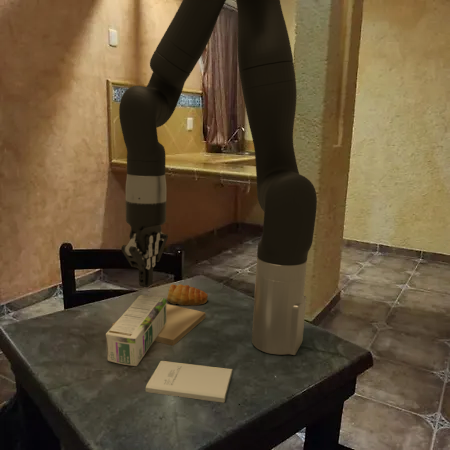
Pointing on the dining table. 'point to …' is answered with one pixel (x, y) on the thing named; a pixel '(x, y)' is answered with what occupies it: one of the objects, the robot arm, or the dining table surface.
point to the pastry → (186, 295)
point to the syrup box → (136, 330)
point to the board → (178, 324)
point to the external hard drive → (190, 381)
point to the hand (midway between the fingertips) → (145, 285)
